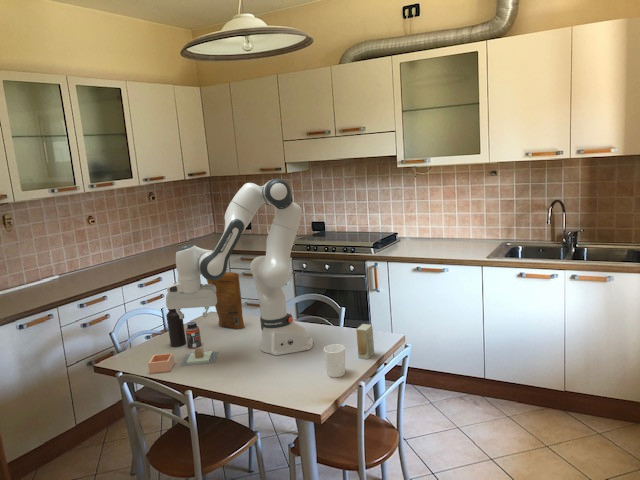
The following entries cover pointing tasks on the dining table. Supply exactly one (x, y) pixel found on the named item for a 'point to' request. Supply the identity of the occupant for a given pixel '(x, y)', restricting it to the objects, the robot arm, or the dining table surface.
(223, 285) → the pancake mix bag
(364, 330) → the skincare box
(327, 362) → the white cup
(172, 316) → the vinegar
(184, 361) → the mat
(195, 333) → the supplement bottle
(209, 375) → the dining table surface
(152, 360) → the peach storage bin
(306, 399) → the dining table surface
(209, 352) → the lid
